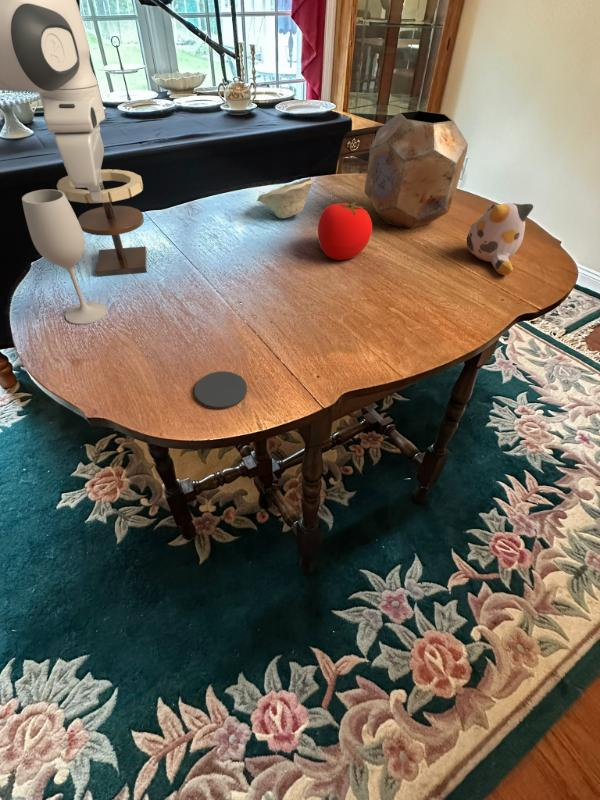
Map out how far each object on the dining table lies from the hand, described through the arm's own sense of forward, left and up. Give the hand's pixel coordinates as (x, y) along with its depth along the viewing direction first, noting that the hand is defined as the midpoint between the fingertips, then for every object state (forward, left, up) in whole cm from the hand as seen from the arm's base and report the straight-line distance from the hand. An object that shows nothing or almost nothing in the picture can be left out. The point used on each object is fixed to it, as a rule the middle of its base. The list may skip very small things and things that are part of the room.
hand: (98, 196), depth 79 cm
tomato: (+49, +3, -17) cm, 52 cm away
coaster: (+16, -38, -16) cm, 45 cm away
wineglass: (-6, -12, -17) cm, 21 cm away
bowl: (+41, +27, -17) cm, 52 cm away
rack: (0, +7, -16) cm, 18 cm away
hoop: (0, +7, -1) cm, 7 cm away
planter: (+73, +20, -17) cm, 77 cm away
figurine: (+83, -8, -17) cm, 85 cm away
